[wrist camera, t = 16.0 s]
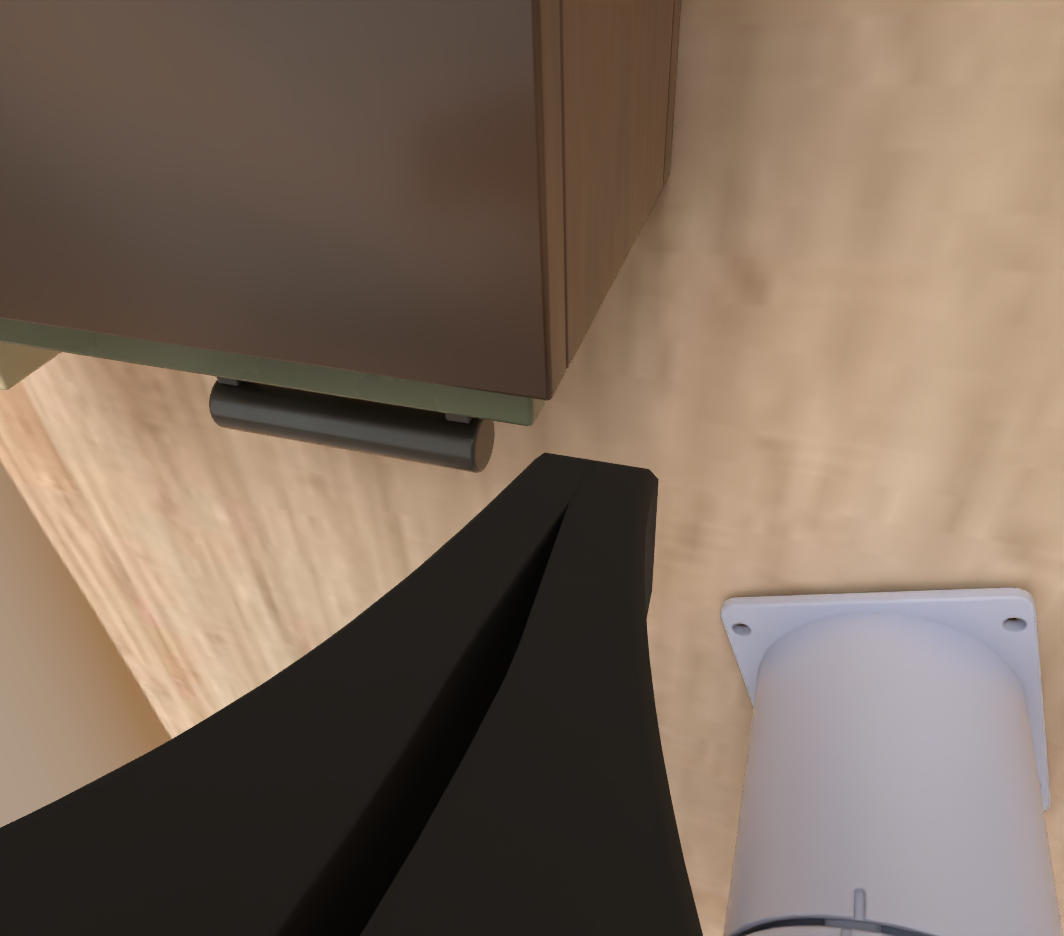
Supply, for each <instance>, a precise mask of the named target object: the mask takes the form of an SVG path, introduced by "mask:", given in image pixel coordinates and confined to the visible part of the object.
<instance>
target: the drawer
mask: <svg viewBox="0 0 1064 936" xmlns="http://www.w3.org/2000/svg"><path fill="white" fill-rule="evenodd" d="M0 342H4V343H10V344H17V345H23V346H29V347H35V348H42V349H48V350H54V351H61V352H67V353H73V354H79V355H86V356H92V357H98V358H104V359H111V360H117V361H123V362H129V363H136V364H142V365H148V366H154V367H161V368H167V369H173V370H179V371H186V372H192V373H198V374H205V375H211V376H217V379H218V380H217V381H216V382H215V384H214V386H213V388H212V391H211V394H210V400H209V407H210V413H211V416H212V418H213V420H214V421H215V423H217V424H218V425H219V426H221V427H223V428H228V429H234V430H239V431H245V432H251V433H256V434H262V435H267V436H273V437H279V438H284V439H290V440H295V441H301V442H307V443H312V444H318V445H323V446H329V447H335V448H340V449H346V450H351V451H357V452H363V453H368V454H374V455H380V456H385V457H391V458H396V459H402V460H408V461H413V462H419V463H424V464H430V465H436V466H441V467H447V468H452V469H458V470H464V471H469V472H475V473H478V472H481V471H483V470H484V469H485V467H486V466H487V464H488V461H489V459H490V456H491V453H492V449H493V444H494V423H493V421H499V422H505V423H511V424H518V425H524V426H531V425H533V423H534V421H535V420H536V418H537V416H538V414H539V412H540V410H541V408H542V406H543V405H544V403H545V401H546V400H540V399H534V398H527V397H520V396H514V395H507V394H500V393H494V392H487V391H480V390H474V389H467V388H460V387H454V386H447V385H440V384H434V383H427V382H420V381H414V380H407V379H400V378H394V377H387V376H380V375H374V374H367V373H360V372H354V371H347V370H340V369H334V368H327V367H320V366H314V365H307V364H300V363H294V362H287V361H280V360H274V359H267V358H260V357H254V356H247V355H241V354H234V353H227V352H221V351H214V350H207V349H201V348H194V347H187V346H181V345H174V344H167V343H161V342H154V341H147V340H141V339H134V338H127V337H121V336H114V335H107V334H101V333H94V332H87V331H81V330H74V329H67V328H61V327H54V326H47V325H41V324H34V323H27V322H21V321H14V320H7V319H1V318H0Z"/></svg>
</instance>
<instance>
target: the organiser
mask: <svg viewBox="0 0 1064 936" xmlns="http://www.w3.org/2000/svg"><path fill="white" fill-rule="evenodd" d="M680 11H681V0H0V318H1V319H7V320H14V321H21V322H27V323H34V324H41V325H47V326H54V327H61V328H67V329H74V330H81V331H87V332H94V333H101V334H107V335H114V336H121V337H127V338H134V339H141V340H147V341H154V342H161V343H167V344H174V345H181V346H187V347H194V348H201V349H207V350H214V351H221V352H227V353H234V354H241V355H247V356H254V357H260V358H267V359H274V360H280V361H287V362H294V363H300V364H307V365H314V366H320V367H327V368H334V369H340V370H347V371H354V372H360V373H367V374H374V375H380V376H387V377H394V378H400V379H407V380H414V381H420V382H427V383H434V384H440V385H447V386H454V387H460V388H467V389H474V390H480V391H487V392H494V393H500V394H507V395H514V396H520V397H527V398H534V399H540V400H550V399H551V398H552V396H553V394H554V393H555V391H556V389H557V387H558V385H559V383H560V381H561V379H562V377H563V375H564V374H565V371H566V369H567V368H568V367H569V365H570V363H571V361H572V359H573V357H574V355H575V354H576V352H577V350H578V348H579V346H580V344H581V342H582V340H583V338H584V336H585V334H586V333H587V331H588V329H589V327H590V325H591V323H592V321H593V319H594V317H595V315H596V314H597V312H598V310H599V308H600V306H601V304H602V302H603V300H604V298H605V296H606V294H607V293H608V291H609V289H610V287H611V285H612V283H613V281H614V279H615V277H616V275H617V273H618V272H619V270H620V268H621V266H622V264H623V262H624V260H625V258H626V256H627V254H628V252H629V251H630V249H631V247H632V245H633V243H634V241H635V239H636V237H637V235H638V233H639V231H640V230H641V228H642V226H643V224H644V222H645V220H646V218H647V216H648V214H649V212H650V210H651V209H652V207H653V205H654V203H655V201H656V199H657V197H658V195H659V193H660V191H661V189H662V187H663V185H664V184H665V182H666V180H667V178H668V176H669V174H670V165H671V149H672V134H673V119H674V103H675V88H676V72H677V57H678V42H679V26H680Z"/></svg>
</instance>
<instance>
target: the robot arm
mask: <svg viewBox="0 0 1064 936" xmlns="http://www.w3.org/2000/svg"><path fill="white" fill-rule="evenodd" d="M657 496H658V478H657V477H656V476H655V475H654V474H653V473H652V472H651V471H650V470H649V469H644V468H638V467H632V466H625V465H619V464H613V463H607V462H600V461H594V460H588V459H581V458H575V457H569V456H562V455H556V454H550V453H543V454H542V455H540V456H539V457H538V458H536V459H535V460H534V461H533V462H532V463H531V464H530V465H529V466H528V467H527V468H526V469H525V470H524V471H523V472H522V473H521V474H520V475H518V476H517V477H516V478H515V479H514V480H513V481H512V482H511V483H510V484H509V485H508V486H507V487H506V488H505V489H504V490H503V491H502V492H501V493H500V494H499V495H498V496H497V497H496V498H495V499H494V500H493V501H492V502H490V503H489V504H488V505H487V506H486V507H485V508H484V509H483V510H482V511H481V512H480V513H479V514H478V515H477V516H475V517H474V518H473V519H472V520H471V521H470V522H469V523H468V524H467V525H466V526H465V527H464V528H463V529H461V530H460V531H459V532H458V533H457V534H456V535H455V536H453V537H452V538H451V539H450V540H449V541H448V542H447V543H446V544H444V545H443V546H442V547H441V548H440V549H439V550H438V551H437V552H435V553H434V554H433V555H432V556H431V557H430V558H429V559H427V560H426V561H425V562H424V563H423V564H422V565H421V566H420V567H418V568H417V569H416V570H415V571H414V572H412V573H411V574H410V575H409V576H408V577H406V578H405V579H404V580H403V581H401V582H400V583H399V584H398V585H396V586H395V587H394V588H393V589H391V590H390V591H389V592H388V593H386V594H385V595H384V596H383V597H381V598H380V599H379V600H378V601H376V602H375V603H374V604H373V605H371V606H370V607H369V608H368V609H366V610H365V611H364V612H363V613H361V614H360V615H359V616H358V617H356V618H355V619H354V620H353V621H351V622H350V623H349V624H347V625H346V626H345V627H343V628H342V629H341V630H339V631H338V632H336V633H335V634H334V635H332V636H331V637H330V638H328V639H327V640H326V641H324V642H323V643H322V644H320V645H319V646H317V647H316V648H314V649H313V650H312V651H310V652H309V653H307V654H306V655H305V656H303V657H302V658H300V659H299V660H297V661H296V662H294V663H293V664H291V665H290V666H288V667H287V668H285V669H284V670H283V671H281V672H280V673H278V674H277V675H275V676H274V677H272V678H271V679H269V680H268V681H266V682H265V683H263V684H262V685H260V686H259V687H257V688H255V689H254V690H252V691H250V692H249V693H247V694H246V695H244V696H242V697H241V698H239V699H238V700H236V701H234V702H233V703H231V704H229V705H228V706H226V707H225V708H223V709H221V710H220V711H218V712H217V713H215V714H213V715H212V716H210V717H209V718H207V719H205V720H204V721H202V722H200V723H199V724H197V725H195V726H194V727H192V728H190V729H188V730H187V731H185V732H183V733H182V734H180V735H178V736H177V737H175V738H173V739H172V740H170V741H168V742H166V743H165V744H163V745H161V746H159V747H157V748H155V749H154V750H152V751H150V752H148V753H146V754H144V755H143V756H141V757H139V758H137V759H135V760H133V761H131V762H129V763H127V764H125V765H123V766H122V767H120V768H118V769H116V770H114V771H112V772H110V773H108V774H106V775H104V776H102V777H101V778H99V779H97V780H95V781H93V782H91V783H89V784H87V785H85V786H83V787H82V788H80V789H78V790H76V791H74V792H72V793H70V794H68V795H66V796H64V797H62V798H61V799H59V800H57V801H55V802H53V803H51V804H49V805H46V806H45V807H42V808H41V809H38V810H36V811H34V812H32V813H30V814H28V815H26V816H24V817H22V818H20V819H18V820H16V821H14V822H11V823H10V824H7V825H5V826H3V827H1V828H0V936H703V934H702V930H701V926H700V922H699V918H698V914H697V910H696V906H695V902H694V898H693V894H692V890H691V886H690V882H689V878H688V874H687V870H686V866H685V862H684V857H683V853H682V848H681V843H680V839H679V834H678V829H677V824H676V820H675V815H674V810H673V805H672V801H671V796H670V790H669V785H668V779H667V774H666V768H665V763H664V758H663V752H662V746H661V740H660V734H659V728H658V721H657V714H656V707H655V700H654V692H653V684H652V675H651V667H650V659H649V648H648V636H647V622H646V618H647V613H648V608H649V603H650V598H651V593H652V581H653V564H654V547H655V530H656V513H657ZM720 613H721V619H722V622H723V625H724V628H725V630H726V633H727V636H728V639H729V641H730V644H731V647H732V650H733V653H734V655H735V658H736V661H737V664H738V666H739V669H740V672H741V675H742V678H743V680H744V683H745V686H746V689H747V691H748V694H749V697H750V700H751V703H752V705H753V708H754V711H753V719H752V726H751V734H750V741H749V748H748V756H747V763H746V771H745V778H744V785H743V793H742V800H741V808H740V815H739V823H738V830H737V837H736V845H735V852H734V860H733V867H732V874H731V882H730V889H729V897H728V904H727V912H726V919H725V926H724V934H723V936H1063V931H1062V925H1061V919H1060V912H1059V906H1058V899H1057V893H1056V887H1055V880H1054V874H1053V868H1052V861H1051V855H1050V849H1049V842H1048V836H1047V830H1046V823H1045V817H1044V811H1046V810H1048V809H1049V808H1050V806H1051V798H1050V785H1049V772H1048V759H1047V746H1046V733H1045V721H1044V708H1043V695H1042V682H1041V669H1040V656H1039V643H1038V630H1037V617H1036V607H1035V602H1034V599H1033V596H1032V595H1031V594H1030V593H1029V592H1027V591H1025V590H1023V589H1020V588H1012V587H1007V588H979V589H951V590H924V591H896V592H868V593H840V594H813V595H785V596H757V597H734V598H729V599H727V600H725V601H724V602H723V604H722V607H721V612H720ZM1009 618H1020V619H1019V620H1007V619H1009ZM739 624H745V625H747V626H743V625H739Z"/></svg>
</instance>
